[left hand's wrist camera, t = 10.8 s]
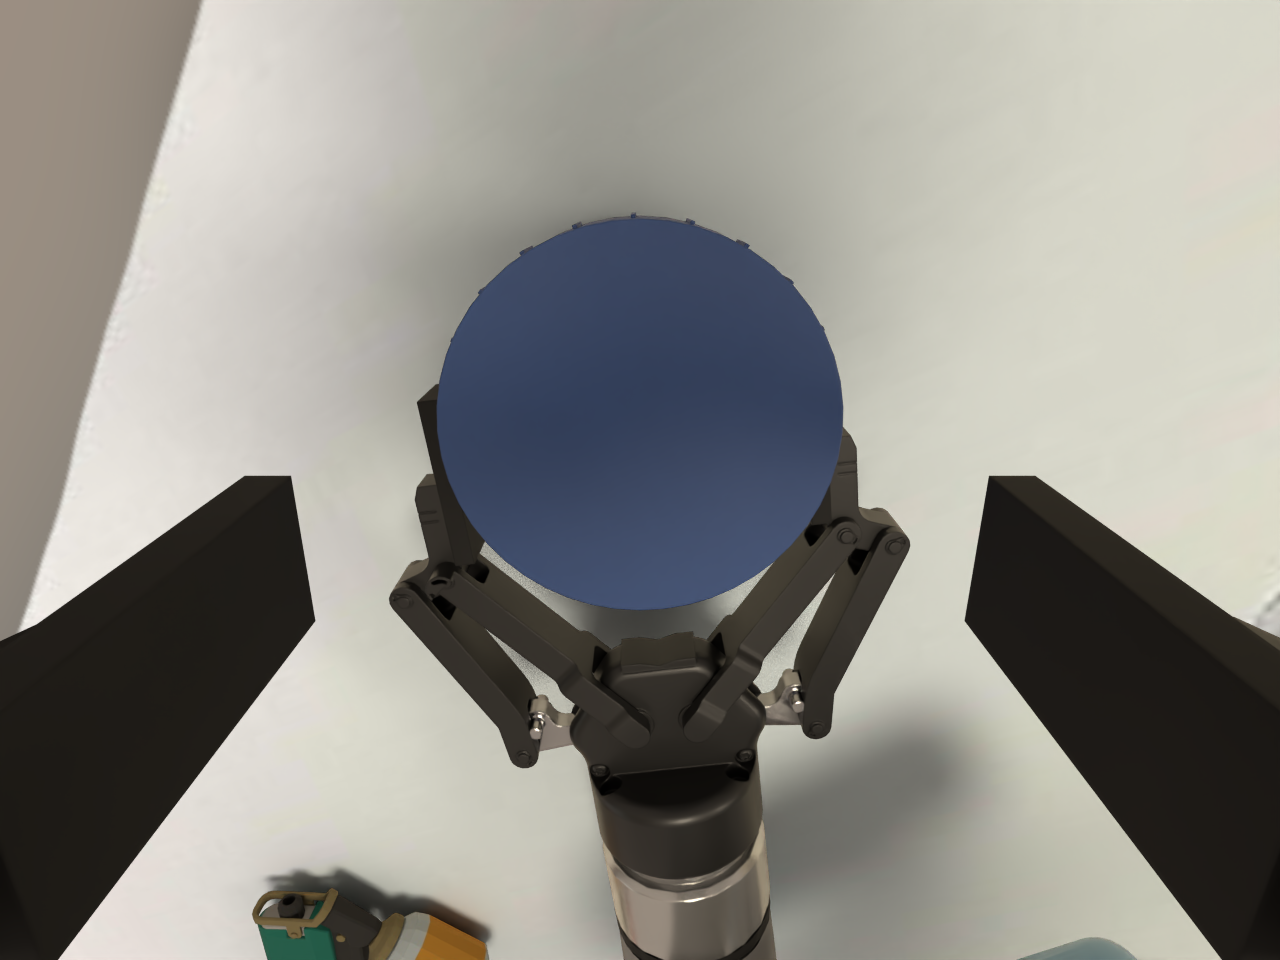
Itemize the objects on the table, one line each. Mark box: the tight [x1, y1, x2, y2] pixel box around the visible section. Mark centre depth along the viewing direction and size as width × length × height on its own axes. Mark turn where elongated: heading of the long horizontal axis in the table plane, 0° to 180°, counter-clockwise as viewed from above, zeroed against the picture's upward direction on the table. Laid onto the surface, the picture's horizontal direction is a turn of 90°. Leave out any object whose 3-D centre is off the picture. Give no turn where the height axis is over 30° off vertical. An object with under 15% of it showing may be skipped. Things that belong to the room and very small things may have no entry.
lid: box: [437, 213, 843, 610], centre depth 20 cm, size 10×10×2 cm
